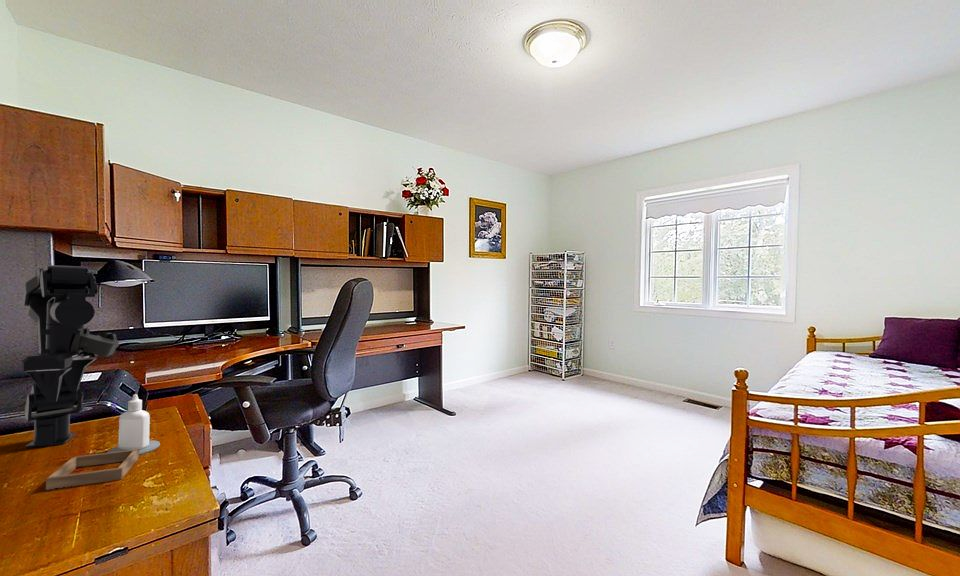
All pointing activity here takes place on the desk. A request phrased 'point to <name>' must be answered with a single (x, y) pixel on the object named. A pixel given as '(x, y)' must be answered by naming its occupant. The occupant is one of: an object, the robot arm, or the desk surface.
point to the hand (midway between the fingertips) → (63, 396)
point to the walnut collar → (67, 480)
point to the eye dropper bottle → (134, 426)
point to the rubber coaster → (149, 448)
